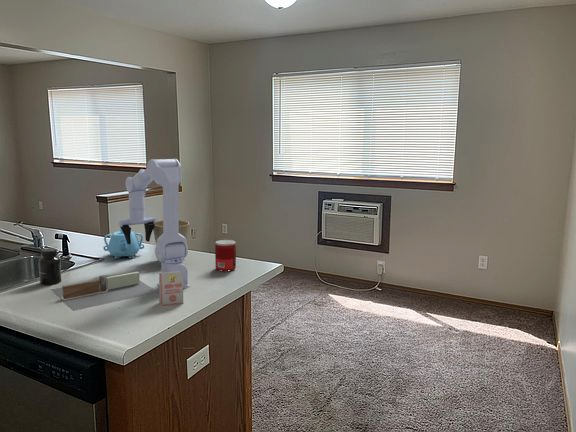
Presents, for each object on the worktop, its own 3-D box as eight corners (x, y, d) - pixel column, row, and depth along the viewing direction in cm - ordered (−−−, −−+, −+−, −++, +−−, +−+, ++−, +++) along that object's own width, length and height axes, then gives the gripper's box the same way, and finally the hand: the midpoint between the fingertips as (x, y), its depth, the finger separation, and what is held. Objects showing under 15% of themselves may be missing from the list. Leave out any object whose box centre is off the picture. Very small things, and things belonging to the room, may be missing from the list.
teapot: (105, 251, 205) (104, 225, 203) (144, 249, 210) (143, 224, 208) (102, 263, 186) (100, 235, 184) (145, 261, 191) (144, 233, 189)
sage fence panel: (139, 283, 161) (139, 272, 160) (107, 289, 154) (107, 278, 153) (138, 282, 162) (137, 271, 161) (106, 288, 155) (105, 277, 154)
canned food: (238, 270, 180) (238, 243, 178) (217, 272, 177) (217, 244, 175) (233, 265, 187) (233, 239, 185) (213, 267, 184) (213, 240, 182)
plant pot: (161, 267, 183) (160, 227, 180) (148, 258, 195) (146, 221, 192) (195, 261, 191) (195, 224, 189) (181, 254, 203) (180, 218, 201)
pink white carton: (159, 302, 145) (158, 271, 143) (181, 299, 148) (180, 269, 146) (161, 306, 142) (160, 275, 140) (183, 303, 144) (182, 272, 143)
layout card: (158, 292, 154) (158, 291, 153) (73, 311, 136) (73, 310, 136) (129, 275, 172) (129, 274, 172) (50, 289, 154) (50, 288, 154)
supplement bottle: (37, 286, 157) (35, 252, 155) (42, 280, 163) (40, 247, 161) (59, 285, 159) (57, 251, 157) (63, 279, 165) (61, 247, 163)
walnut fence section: (107, 291, 153) (106, 276, 152) (64, 299, 145) (63, 284, 144) (105, 289, 155) (104, 275, 154) (62, 298, 146) (61, 282, 145)
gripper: (150, 205, 185) (151, 238, 188) (114, 208, 176) (116, 243, 178) (158, 207, 180) (159, 241, 183) (121, 210, 171) (123, 246, 173)
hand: (138, 242), depth 180 cm, fingers open, 7 cm apart
